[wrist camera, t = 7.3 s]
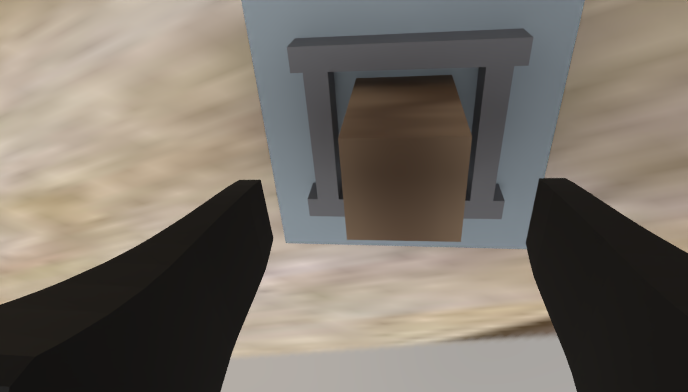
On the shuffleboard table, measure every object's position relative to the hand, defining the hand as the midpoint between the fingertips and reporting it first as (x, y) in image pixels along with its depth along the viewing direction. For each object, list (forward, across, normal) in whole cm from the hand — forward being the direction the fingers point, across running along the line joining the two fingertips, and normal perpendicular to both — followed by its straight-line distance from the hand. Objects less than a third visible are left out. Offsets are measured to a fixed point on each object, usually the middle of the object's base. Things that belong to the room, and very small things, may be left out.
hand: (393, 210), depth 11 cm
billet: (+8, 0, +1) cm, 8 cm away
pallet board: (+9, 0, +1) cm, 9 cm away
